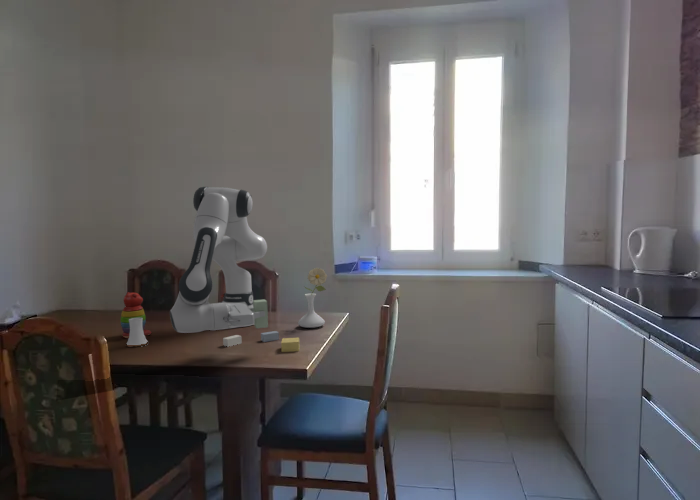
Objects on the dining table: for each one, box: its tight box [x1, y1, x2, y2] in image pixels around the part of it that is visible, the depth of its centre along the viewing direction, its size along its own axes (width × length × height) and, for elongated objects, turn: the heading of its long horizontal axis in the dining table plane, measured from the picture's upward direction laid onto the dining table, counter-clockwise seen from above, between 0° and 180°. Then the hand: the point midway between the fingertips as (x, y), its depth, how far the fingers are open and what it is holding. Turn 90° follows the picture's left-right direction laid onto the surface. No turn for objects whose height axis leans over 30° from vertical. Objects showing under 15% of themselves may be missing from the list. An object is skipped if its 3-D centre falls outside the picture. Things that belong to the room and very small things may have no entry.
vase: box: [125, 318, 149, 345], centre depth 184 cm, size 8×8×10 cm
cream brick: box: [222, 334, 243, 348], centre depth 181 cm, size 6×3×3 cm, turn 140°
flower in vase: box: [297, 267, 328, 329], centre depth 206 cm, size 13×11×25 cm
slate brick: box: [260, 330, 280, 343], centre depth 186 cm, size 6×3×3 cm, turn 121°
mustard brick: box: [280, 337, 300, 353], centre depth 173 cm, size 6×6×4 cm
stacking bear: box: [120, 291, 152, 336], centre depth 199 cm, size 11×10×18 cm
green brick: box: [253, 298, 269, 329], centre depth 169 cm, size 4×4×9 cm
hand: (263, 311), depth 169 cm, fingers closed on green brick, 4 cm apart
